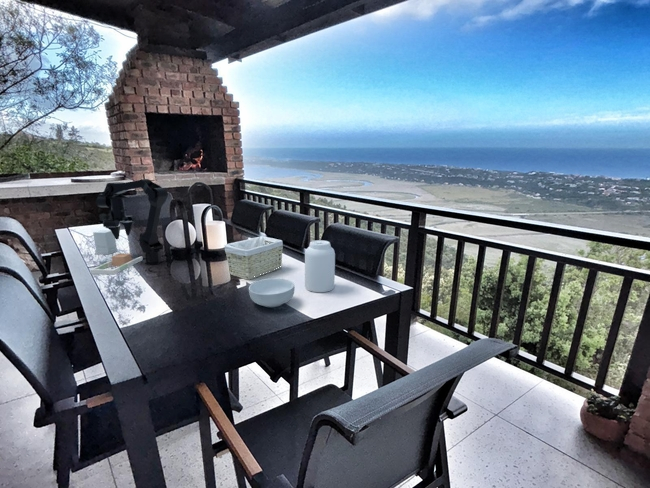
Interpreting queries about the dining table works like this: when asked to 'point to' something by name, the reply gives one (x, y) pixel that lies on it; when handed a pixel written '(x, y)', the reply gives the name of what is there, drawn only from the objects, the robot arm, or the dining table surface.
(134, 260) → the trap lane
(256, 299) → the cereal bowl
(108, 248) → the supplement box
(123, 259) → the block
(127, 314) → the dining table surface
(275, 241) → the storage basket
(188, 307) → the dining table surface
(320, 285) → the white jar
